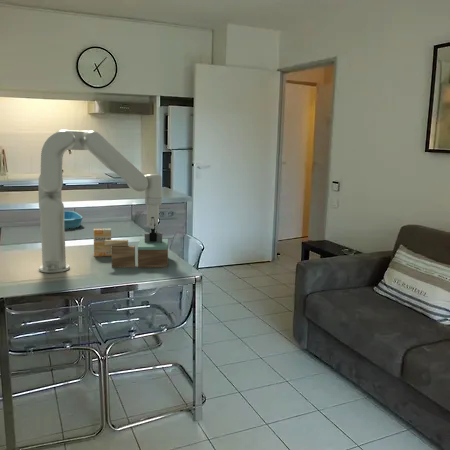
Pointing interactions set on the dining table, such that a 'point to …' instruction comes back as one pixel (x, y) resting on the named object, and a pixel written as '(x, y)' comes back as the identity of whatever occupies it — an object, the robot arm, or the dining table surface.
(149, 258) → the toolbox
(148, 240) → the lid
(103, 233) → the supplement box
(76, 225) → the casserole dish
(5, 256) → the dining table surface
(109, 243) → the tan wooden bar
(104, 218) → the dining table surface
